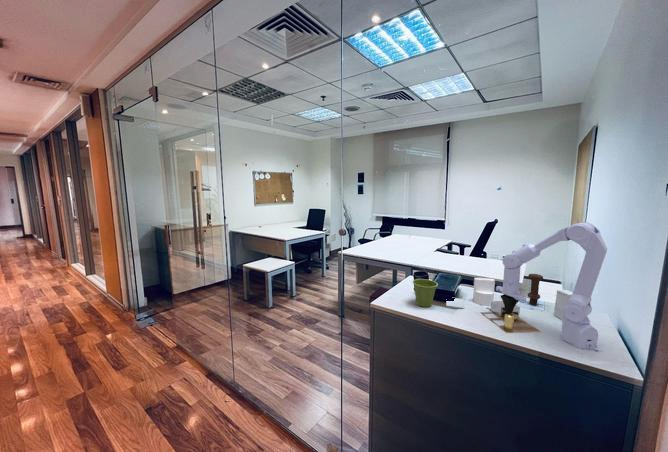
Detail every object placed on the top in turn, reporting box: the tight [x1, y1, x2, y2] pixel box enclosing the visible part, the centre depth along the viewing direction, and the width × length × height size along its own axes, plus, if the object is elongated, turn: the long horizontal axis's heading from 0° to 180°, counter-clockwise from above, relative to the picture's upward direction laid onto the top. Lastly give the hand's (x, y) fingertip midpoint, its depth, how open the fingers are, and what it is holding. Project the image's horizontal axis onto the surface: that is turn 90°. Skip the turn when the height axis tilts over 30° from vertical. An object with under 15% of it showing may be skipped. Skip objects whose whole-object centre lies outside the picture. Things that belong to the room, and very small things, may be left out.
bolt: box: [527, 273, 544, 306], centre depth 131 cm, size 6×5×15 cm
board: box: [480, 307, 542, 334], centre depth 115 cm, size 23×15×3 cm, turn 2°
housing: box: [490, 300, 521, 317], centre depth 120 cm, size 7×8×4 cm
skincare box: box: [553, 289, 573, 321], centre depth 117 cm, size 6×4×12 cm
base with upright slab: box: [472, 277, 496, 307], centre depth 135 cm, size 9×9×12 cm
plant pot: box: [412, 278, 439, 308], centre depth 132 cm, size 12×12×11 cm
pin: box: [503, 314, 514, 332], centre depth 105 cm, size 3×3×6 cm
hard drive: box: [445, 297, 466, 310], centre depth 133 cm, size 2×8×12 cm
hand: (508, 312), depth 115 cm, fingers closed
